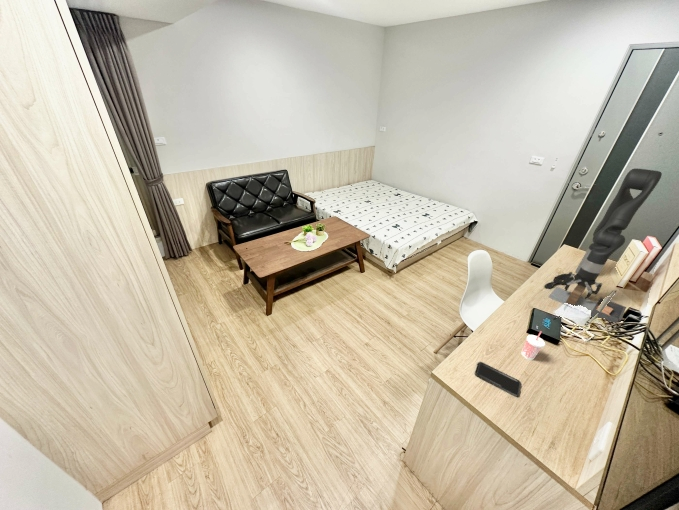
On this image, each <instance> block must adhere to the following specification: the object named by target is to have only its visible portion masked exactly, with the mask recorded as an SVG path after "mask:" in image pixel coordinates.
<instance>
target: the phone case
mask: <svg viewBox="0 0 679 510" xmlns="http://www.w3.org/2000/svg"><path fill="white" fill-rule="evenodd" d="M557 316H560V317H562V318H563V319H562V318H561V319H562V320H564V321H565V322H567V323H569V324H570V325H573V324H574V325H577V326H579V325H578V324H576V323H574V322H572V321H571V320H569V319H567V318H565V317H564V316H562V315H557ZM560 317H559V318H560ZM574 325H573V326H574ZM562 327H563V328H562ZM562 327H561V328H562V329H564V330H565V331H568V332H569V331H571V332H572V333H573V334H574V335H576V336H577V337H579V338H580V339H581V340H582V341H584V342H586V343H587V342H589V341H590V340H591V338H592V339H593V338H595V336H596V335H595V334H594V333H592V332H591V331H589V330H587V329H585V328H583V327H581V326H579V328H578V329H580V328H581V329H583V330H586V332H585V333H586V334H589V335H590V336H591V337H589V338H588V339H586V338H585V337H583V336H581V335H579V334H578V333H576V332H574V331H572V330H571V329H569V328H567V327H566V326H564V325H562ZM581 329H580V330H581ZM583 330H582V331H583Z"/></svg>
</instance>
